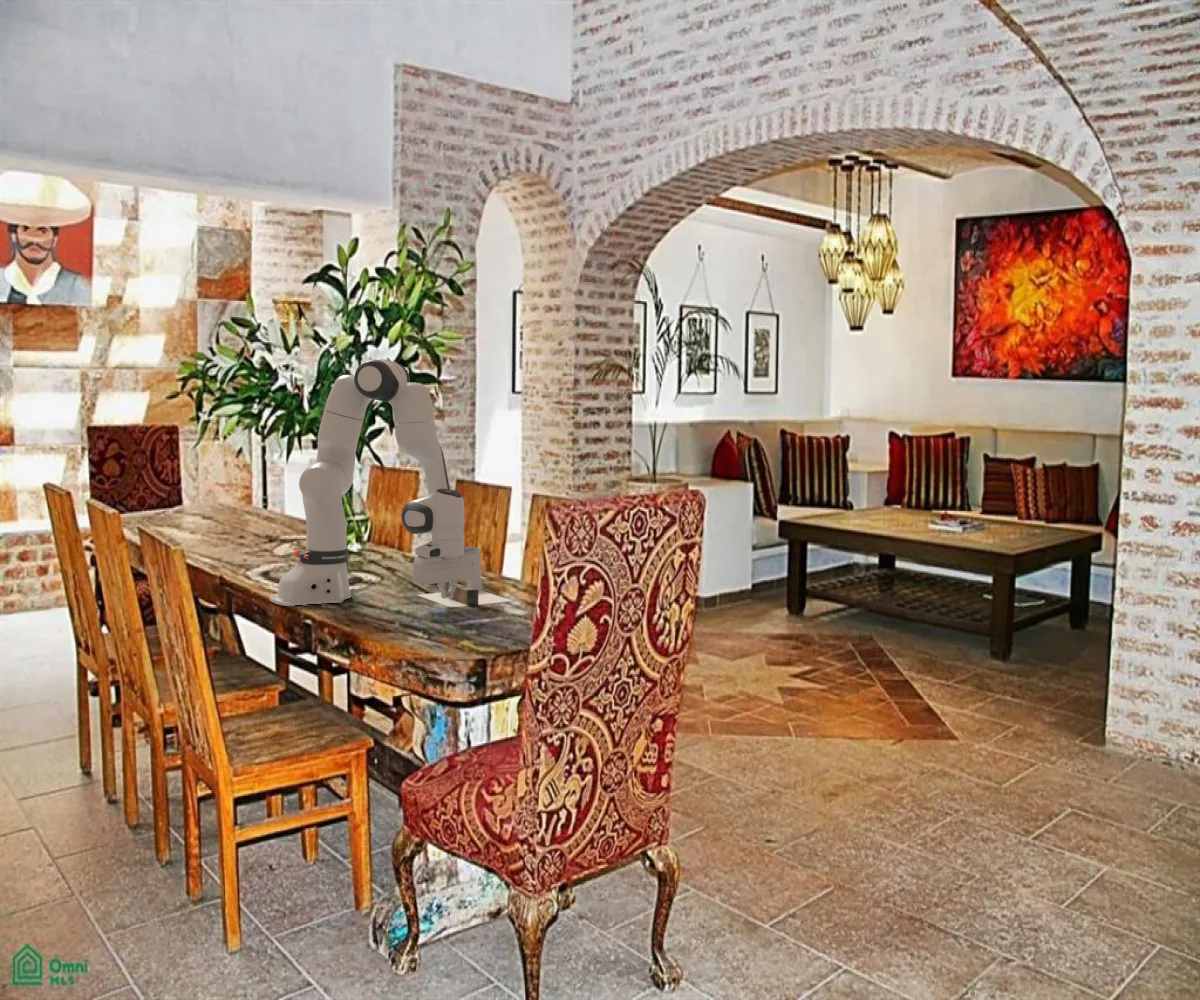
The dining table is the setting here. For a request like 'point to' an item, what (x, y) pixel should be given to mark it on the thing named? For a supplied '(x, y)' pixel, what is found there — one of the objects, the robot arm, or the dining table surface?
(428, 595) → the wall mounted roll holder
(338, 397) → the robot arm
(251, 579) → the dining table surface
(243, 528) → the dining table surface
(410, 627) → the dining table surface
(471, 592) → the leg
